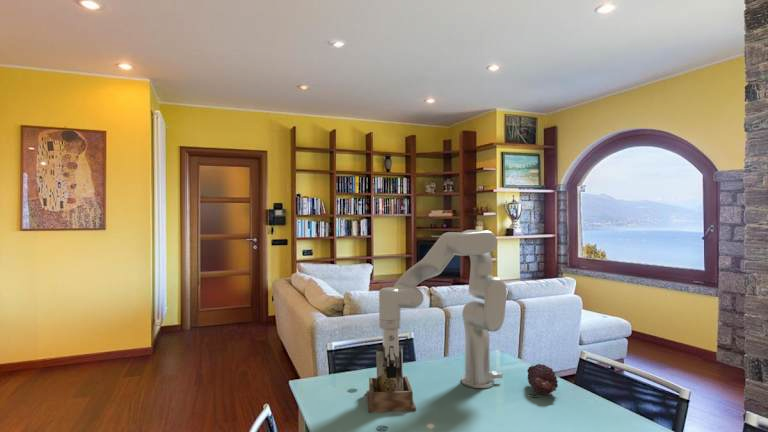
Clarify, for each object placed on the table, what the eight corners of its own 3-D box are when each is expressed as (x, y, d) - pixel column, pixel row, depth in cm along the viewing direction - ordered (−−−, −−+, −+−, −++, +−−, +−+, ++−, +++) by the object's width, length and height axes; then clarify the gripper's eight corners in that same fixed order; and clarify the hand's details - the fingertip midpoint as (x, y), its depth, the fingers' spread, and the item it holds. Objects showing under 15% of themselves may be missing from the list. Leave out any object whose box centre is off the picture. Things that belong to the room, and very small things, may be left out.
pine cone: (519, 383, 165) (519, 357, 165) (544, 382, 166) (544, 356, 166) (539, 402, 147) (538, 374, 147) (566, 401, 148) (566, 373, 148)
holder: (409, 391, 157) (409, 375, 157) (416, 410, 141) (416, 393, 141) (366, 393, 156) (366, 376, 156) (368, 412, 140) (368, 394, 140)
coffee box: (403, 390, 151) (403, 345, 152) (402, 398, 145) (402, 351, 145) (378, 389, 152) (378, 344, 152) (376, 397, 146) (376, 350, 146)
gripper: (403, 329, 141) (403, 382, 140) (397, 317, 158) (397, 364, 158) (381, 329, 140) (381, 383, 140) (377, 317, 157) (377, 365, 157)
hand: (390, 373), depth 149 cm, fingers closed on coffee box, 7 cm apart
